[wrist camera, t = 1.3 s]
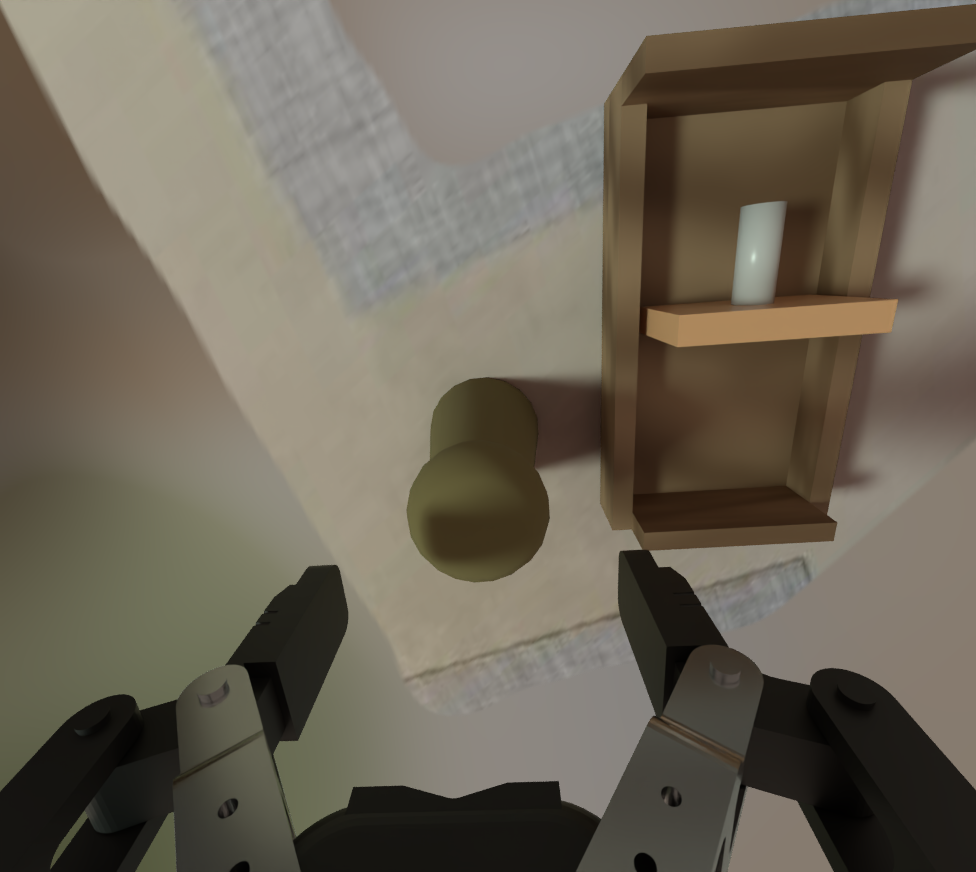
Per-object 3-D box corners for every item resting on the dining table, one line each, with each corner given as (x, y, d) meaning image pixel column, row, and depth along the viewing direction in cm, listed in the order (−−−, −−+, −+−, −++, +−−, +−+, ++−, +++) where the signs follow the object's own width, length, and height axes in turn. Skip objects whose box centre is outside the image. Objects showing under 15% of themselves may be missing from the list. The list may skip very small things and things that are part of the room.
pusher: (642, 220, 21) (686, 203, 16) (823, 205, 20) (923, 184, 16) (638, 332, 22) (677, 347, 17) (805, 320, 22) (891, 332, 17)
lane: (604, 103, 20) (646, 35, 15) (858, 80, 20) (1003, 1, 14) (600, 503, 27) (628, 564, 21) (790, 492, 26) (871, 551, 21)
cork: (524, 364, 24) (546, 431, 14) (548, 466, 26) (583, 591, 16) (416, 392, 25) (359, 476, 14) (448, 489, 27) (417, 624, 16)
